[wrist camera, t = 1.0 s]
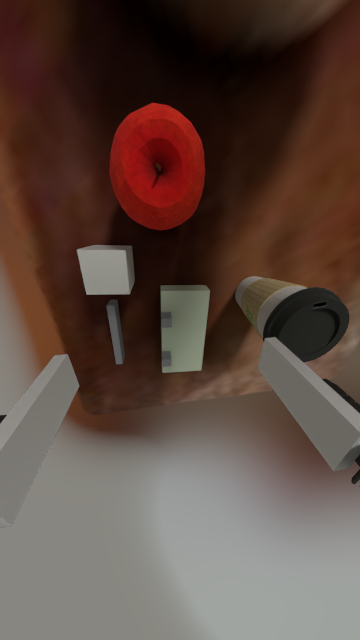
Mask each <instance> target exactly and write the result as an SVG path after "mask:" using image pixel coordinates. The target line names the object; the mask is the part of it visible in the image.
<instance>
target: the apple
mask: <svg viewBox="0 0 360 640" xmlns="http://www.w3.org/2000/svg"><path fill="white" fill-rule="evenodd" d="M109 174H110V178H111V182H112V186H113V190H114V194H115V196H116V197H117V199H118V201H119V203H120V205H121V207H122V208H123V210H124V211H125V212H126V213H127V215H128V216H129V217H130V218H131V219H133V220H134V221H136V222H137V223H139V224H141V225H143V226H145V227H147V228H149V229H155V230H161V231H162V230H166V229H171V228H173V227H176V226H178V225H180V224H182V223H183V222H185V221H186V220H188V219H189V218H190V217H191V216H192V215H193V213H194V212H195V211H196V209H197V206H198V204H199V201H200V199H201V196H202V192H203V187H204V179H205V160H204V150H203V145H202V141H201V139H200V137H199V135H198V133H197V132H196V130H195V128H194V126H193V125H192V123H191V122H190V121H189V120H188V119H187V118H186V117H184V116H183V115H182V114H181V113H180V112H179V111H177V110H175V109H174V108H172V107H170V106H168V105H163V104H157V103H151V104H149V105H147V106H145V107H143V108H140V109H138V110H136V111H134V112H132V113H130V114H129V115H128V116H127V117H126V118H125V119H124V120H123V122H122V123H121V124H120V125H119V127H118V129H117V131H116V133H115V136H114V140H113V145H112V149H111V155H110V172H109Z"/></svg>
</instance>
